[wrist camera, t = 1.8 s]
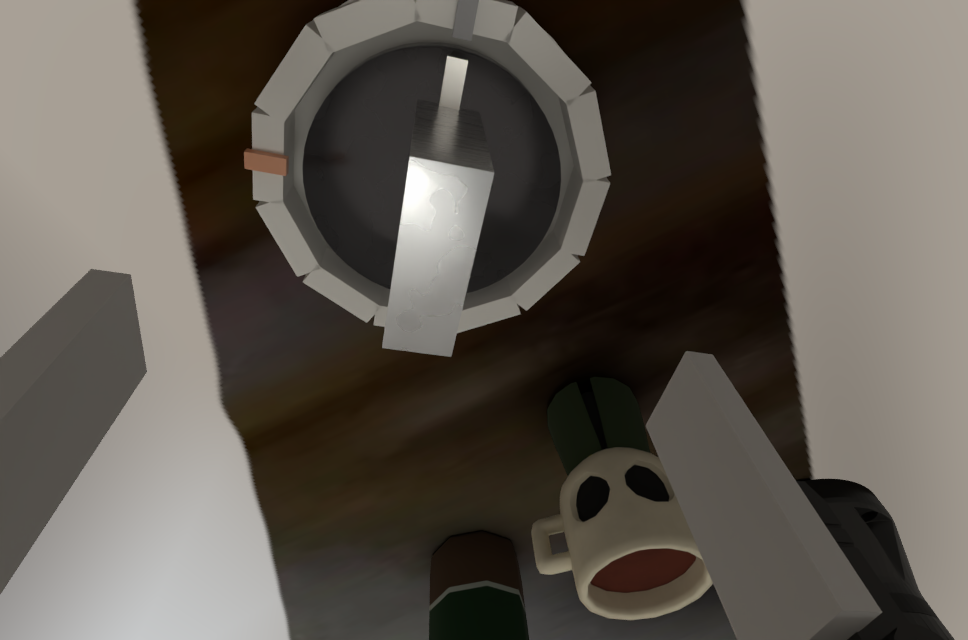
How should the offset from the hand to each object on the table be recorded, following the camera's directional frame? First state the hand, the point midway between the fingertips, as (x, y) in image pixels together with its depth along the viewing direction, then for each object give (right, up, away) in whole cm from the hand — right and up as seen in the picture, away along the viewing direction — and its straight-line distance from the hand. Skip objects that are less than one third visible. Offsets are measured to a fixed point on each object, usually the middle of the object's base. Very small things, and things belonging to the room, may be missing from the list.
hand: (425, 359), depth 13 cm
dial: (-1, +7, +11) cm, 14 cm away
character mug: (+9, -5, +25) cm, 27 cm away
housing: (-1, +9, +14) cm, 17 cm away
